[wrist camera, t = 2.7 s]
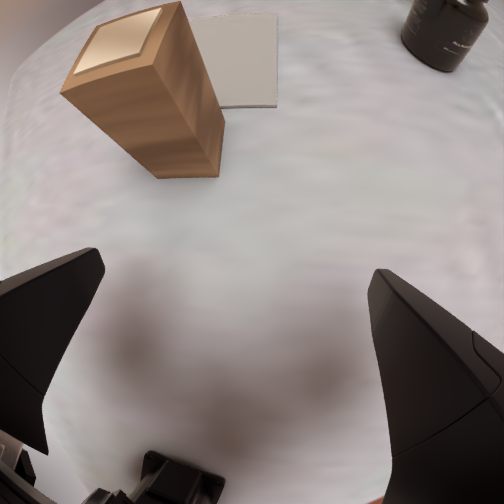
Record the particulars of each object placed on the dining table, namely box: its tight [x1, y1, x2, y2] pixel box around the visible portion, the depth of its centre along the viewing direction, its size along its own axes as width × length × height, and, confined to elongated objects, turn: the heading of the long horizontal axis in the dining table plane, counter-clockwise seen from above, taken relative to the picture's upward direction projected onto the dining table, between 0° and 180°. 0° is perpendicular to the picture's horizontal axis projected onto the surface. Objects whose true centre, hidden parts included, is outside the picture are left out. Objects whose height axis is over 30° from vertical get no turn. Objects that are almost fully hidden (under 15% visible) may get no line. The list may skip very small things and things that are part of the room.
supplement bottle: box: [402, 0, 489, 71], centre depth 12 cm, size 7×7×12 cm
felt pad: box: [188, 13, 278, 108], centre depth 19 cm, size 13×12×1 cm
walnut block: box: [60, 1, 225, 179], centre depth 13 cm, size 4×4×11 cm
